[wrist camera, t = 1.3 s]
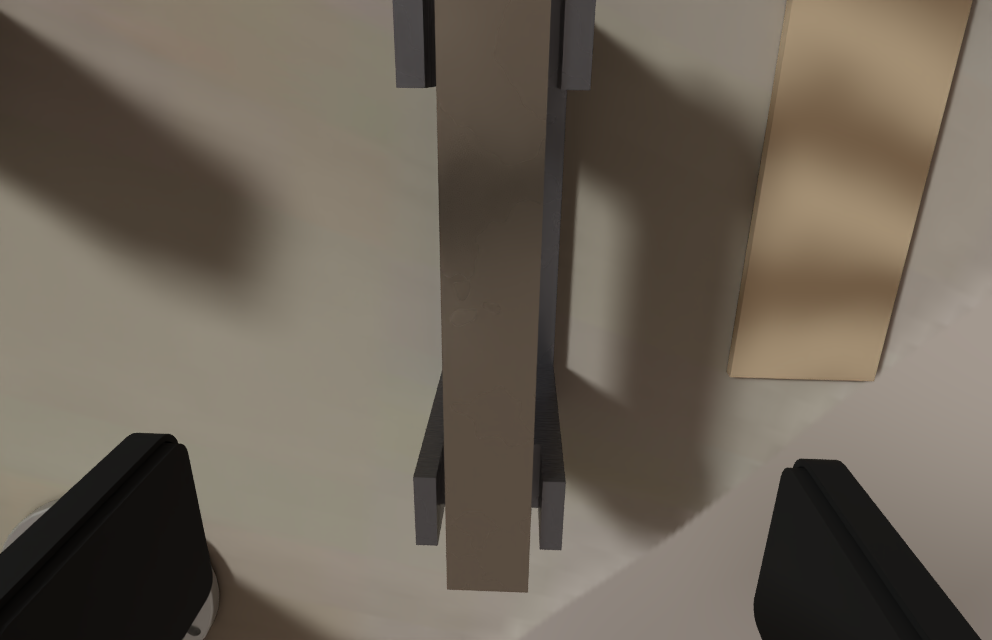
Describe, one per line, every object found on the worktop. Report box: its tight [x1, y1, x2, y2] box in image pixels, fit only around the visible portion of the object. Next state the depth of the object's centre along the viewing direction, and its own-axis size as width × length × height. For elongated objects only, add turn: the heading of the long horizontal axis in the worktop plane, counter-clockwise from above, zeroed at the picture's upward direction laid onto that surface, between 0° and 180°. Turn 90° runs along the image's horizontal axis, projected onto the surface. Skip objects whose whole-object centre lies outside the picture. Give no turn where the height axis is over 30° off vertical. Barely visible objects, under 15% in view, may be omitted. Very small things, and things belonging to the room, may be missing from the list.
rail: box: [435, 0, 551, 593], centre depth 21 cm, size 22×3×3 cm, turn 179°
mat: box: [727, 0, 973, 381], centre depth 27 cm, size 22×7×1 cm, turn 179°
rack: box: [393, 0, 596, 550], centre depth 25 cm, size 19×5×10 cm, turn 179°
